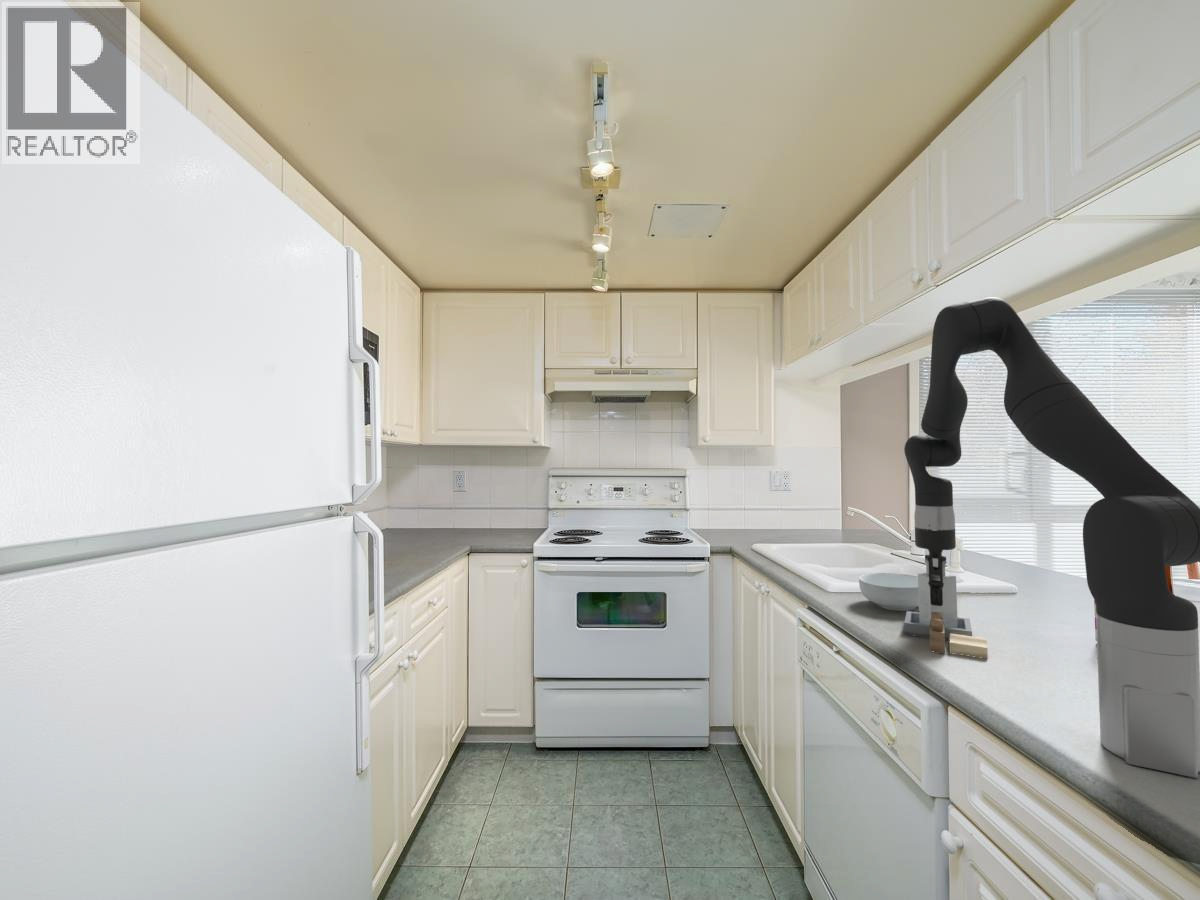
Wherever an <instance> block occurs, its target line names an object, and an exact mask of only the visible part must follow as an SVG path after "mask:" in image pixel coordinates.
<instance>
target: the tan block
mask: <svg viewBox="0 0 1200 900" xmlns="http://www.w3.org/2000/svg"><path fill="white" fill-rule="evenodd" d="M950 652H951V653H956V654H955V655H958V654H963V655H962V656H964V655H969V656H968V657H970V656H975V657H974V658H977V657H982V658H981V659H983V658H986V659H985V660H988V658H989V657H988V654H989V653H988V652H989V651H988V641H987V638H986V637H979V636H977V637H976V636H973V635H972V636H965V635H958V634H951V633H950V641H949V653H950ZM951 653H950V654H951Z"/></svg>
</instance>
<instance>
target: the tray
mask: <svg viewBox="0 0 1200 900" xmlns="http://www.w3.org/2000/svg"><path fill="white" fill-rule="evenodd" d="M905 612H906V614H905V618H904V635H905V634H906V635H905V636H912V635H915V637H919V636H920V638H926V637H930V625H927V624H920V622H919V611H918V612H917V611H911V610H909V611H905ZM957 622H958V628H951V627H944V629H945V641H948V640H950V633H951V634H958V635H965V636H972V637H973V630H972V625H971V619H970V618H969V617H960V616H959V617H958V616H957Z"/></svg>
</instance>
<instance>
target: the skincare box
mask: <svg viewBox="0 0 1200 900" xmlns="http://www.w3.org/2000/svg"><path fill="white" fill-rule="evenodd" d="M917 576H918V591H919V606H918V613H919V622H920V624H927V625H930V620H931V612H939V613H942V614H943V622H944V627H951V628H958V622H957V617H958V600H957V599H958V596H957V595H958V594H957V593H958V592H957V576H956V575H953V574H951V573H946V572H945V579H943V583H944V587H943V588H942V593H943V605H942V606H935V605H931V603H930V587H929V584H928V582H929V577H927V574H926V572H923V573H917ZM932 580H935V581H940V579H939V578H932Z"/></svg>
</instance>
